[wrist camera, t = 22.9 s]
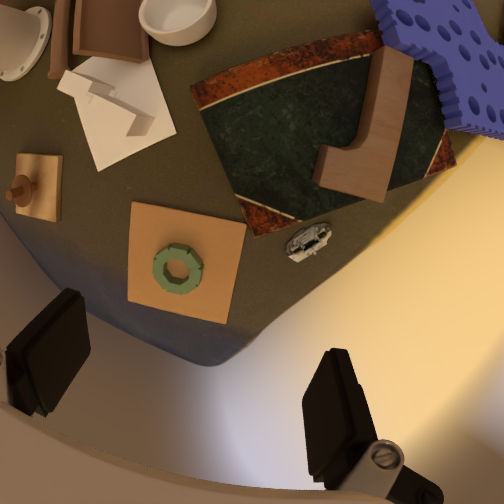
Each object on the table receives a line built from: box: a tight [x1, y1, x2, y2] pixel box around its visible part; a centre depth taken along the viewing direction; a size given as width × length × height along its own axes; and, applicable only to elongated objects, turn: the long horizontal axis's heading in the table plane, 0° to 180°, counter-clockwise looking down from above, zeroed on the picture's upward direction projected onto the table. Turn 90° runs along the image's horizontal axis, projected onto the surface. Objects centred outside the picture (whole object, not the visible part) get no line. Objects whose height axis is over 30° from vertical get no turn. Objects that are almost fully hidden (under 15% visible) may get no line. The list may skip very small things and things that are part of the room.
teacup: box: [139, 0, 217, 46], centre depth 22 cm, size 10×8×5 cm
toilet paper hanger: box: [48, 0, 149, 79], centre depth 20 cm, size 22×13×10 cm, turn 6°
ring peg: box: [6, 153, 63, 222], centre depth 29 cm, size 9×9×7 cm
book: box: [189, 29, 457, 239], centre depth 27 cm, size 17×4×25 cm
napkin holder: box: [57, 56, 176, 172], centre depth 25 cm, size 15×11×6 cm
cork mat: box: [128, 201, 247, 324], centre depth 36 cm, size 14×14×1 cm
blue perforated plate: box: [369, 0, 504, 140], centre depth 20 cm, size 25×24×3 cm
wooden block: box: [312, 45, 414, 203], centre depth 23 cm, size 7×3×15 cm
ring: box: [152, 243, 204, 295], centre depth 35 cm, size 6×6×2 cm
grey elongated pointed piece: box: [285, 223, 331, 263], centre depth 34 cm, size 6×2×3 cm
